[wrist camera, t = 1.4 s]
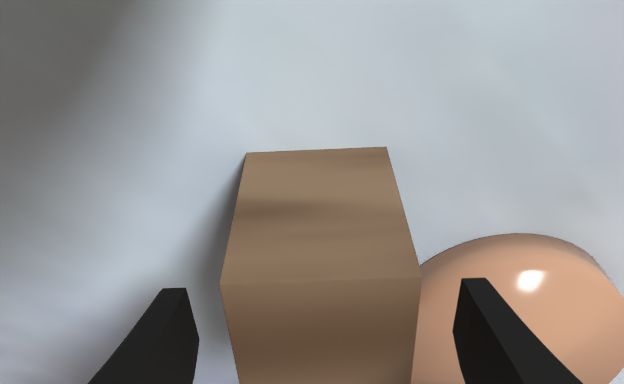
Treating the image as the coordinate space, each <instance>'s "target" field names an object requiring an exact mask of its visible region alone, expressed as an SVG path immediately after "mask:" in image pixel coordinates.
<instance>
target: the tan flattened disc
mask: <svg viewBox="0 0 624 384" xmlns="http://www.w3.org/2000/svg"><path fill="white" fill-rule="evenodd" d="M420 270H421V274H422V285H421V294H420V303H419V312H418V321H417V330H416V340H415V349H414V358H413V367H412V376H411V384H465V381H464V378H463V375H462V372H461V369H460V365H459V361H458V356H457V352H456V347H455V342H454V337H453V332H452V330H453V324H454V319H455V313H456V307H457V301H458V296H459V290H460V284H461V278H484V277H485V278H486V279H487V280H488V281H489V282H490V283H491V284H492V285H493V287H494V288H495V289H496V290H497V291H498V293H499V294H500V295H501V296H502V297H503V299H504V300H505V301H506V302H507V303H508V305H509V306H510V307H511V308H512V309H513V310H514V312H515V313H516V314H517V315H518V316H519V317H520V319H521V320H522V321H523V322H524V323H525V324H526V325H527V327H528V328H529V329H530V330H531V331H532V332H533V333H534V334H535V335H536V336H537V337H538V338H539V340H540V341H541V342H542V343H543V344H544V345H545V346H546V347H547V348H548V349H549V350H550V351H551V352H552V353H553V354H554V355H555V356H556V357H557V358H558V360H560V361H561V362H562V363H563V364H564V365H565V366H566V367H567V368H568V369H569V370H570V371H571V372H572V373H573V374H574V375H575V376H576V377H577V378H578V379H579V380H580V381H581V382H582V383H583V384H609V383H610V382H611V381H612V380H613V379H614V378H615V377H616V376H617V375H618V373H619V372H620V371H621V370H622V368H623V367H624V298H623V297H622V295H621V294H620V293H619V291H618V290H617V289H616V287H615V286H614V284H613V283H612V282H611V280H610V279H609V277H608V276H607V275H606V273H605V272H604V271H603V269H602V268H601V266H600V265H599V264H598V263H597V262H596V260H595V259H594V258H593V257H592V256H591V255H589V254H588V253H587V252H586V251H584V250H583V249H581V248H579V247H577V246H576V245H574V244H572V243H569V242H567V241H564V240H562V239H558V238H554V237H550V236H546V235H538V234H522V233H513V234H502V235H494V236H489V237H483V238H479V239H476V240H472V241H469V242H465V243H463V244H460V245H457V246H455V247H452V248H450V249H448V250H446V251H444V252H442V253H440V254H438V255H436V256H434V257H433V258H431V259H430V260H428V261H427V262H425V263H423V264H422V265H421V266H420Z"/></svg>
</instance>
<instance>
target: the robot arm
mask: <svg viewBox="0 0 624 384" xmlns="http://www.w3.org/2000/svg"><path fill="white" fill-rule="evenodd" d="M452 332H453V337H454V342H455V347H456V352H457V356H458V361H459V365H460V369H461V372H462V375H463V378H464V381H465V384H583V383H582V382H581V381H580V380H579V379H578V378H577V377H576V376H575V375H574V374H573V373H572V372H571V371H570V370H569V369H568V368H567V367H566V366H565V365H564V364H563V363H562V362H561V361H560V360H558V358H557V357H556V356H555V355H554V354H553V353H552V352H551V351H550V350H549V349H548V348H547V347H546V346H545V345H544V344H543V343H542V342H541V341H540V340H539V338H538V337H537V336H536V335H535V334H534V333H533V332H532V331H531V330H530V329H529V328H528V327H527V325H526V324H525V323H524V322H523V321H522V320H521V319H520V317H519V316H518V315H517V314H516V313H515V312H514V310H513V309H512V308H511V307H510V306H509V305H508V303H507V302H506V301H505V300H504V299H503V297H502V296H501V295H500V294H499V293H498V291H497V290H496V289H495V288H494V287H493V285H492V284H491V283H490V282H489V281H488V280H487V279H486V278H485V277H484V278H461V284H460V290H459V296H458V301H457V307H456V313H455V319H454V324H453V330H452ZM198 346H199V336H198V332H197V328H196V324H195V320H194V317H193V313H192V309H191V305H190V301H189V297H188V294H187V290H186V288H163V289H162V290H161V291H160V292H159V293H158V295H157V296H156V298H155V299H154V300H153V302H152V303H151V305H150V306H149V307H148V309H147V310H146V312H145V313H144V314H143V316H142V317H141V318H140V320H139V321H138V322H137V324H136V325H135V326H134V328H133V329H132V330H131V332H130V333H129V334H128V336H127V337H126V338H125V339H124V341H123V342H122V343H121V344H120V346H119V347H118V348H117V349H116V351H115V352H114V353H113V355H112V356H111V357H110V358H109V359H108V361H107V362H106V363H105V364H104V365H103V367H102V368H101V369H100V370H99V371H98V372H97V373H96V375H95V376H94V377H93V378H92V379H91V380H90V382H89V383H88V384H192V383H193V379H194V375H195V368H196V361H197V354H198Z"/></svg>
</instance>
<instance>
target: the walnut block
mask: <svg viewBox="0 0 624 384" xmlns="http://www.w3.org/2000/svg"><path fill="white" fill-rule="evenodd" d="M421 285H422V274H421V270H420V267H419V263H418V259H417V256H416V252H415V249H414V245H413V241H412V238H411V234H410V230H409V227H408V223H407V220H406V216H405V212H404V209H403V205H402V202H401V198H400V194H399V191H398V187H397V184H396V180H395V176H394V173H393V169H392V165H391V162H390V158H389V155H388V151H387V147H370V148H346V149H323V150H299V151H275V152H252V153H247V154H246V158H245V163H244V168H243V173H242V177H241V182H240V187H239V192H238V197H237V201H236V206H235V211H234V216H233V221H232V225H231V230H230V235H229V240H228V244H227V249H226V254H225V259H224V264H223V268H222V273H221V278H220V283H219V287H220V291H221V296H222V301H223V306H224V311H225V316H226V321H227V325H228V330H229V335H230V340H231V345H232V350H233V354H234V359H235V364H236V369H237V374H238V379H239V384H411V376H412V367H413V358H414V349H415V340H416V330H417V321H418V312H419V303H420V294H421Z"/></svg>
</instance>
